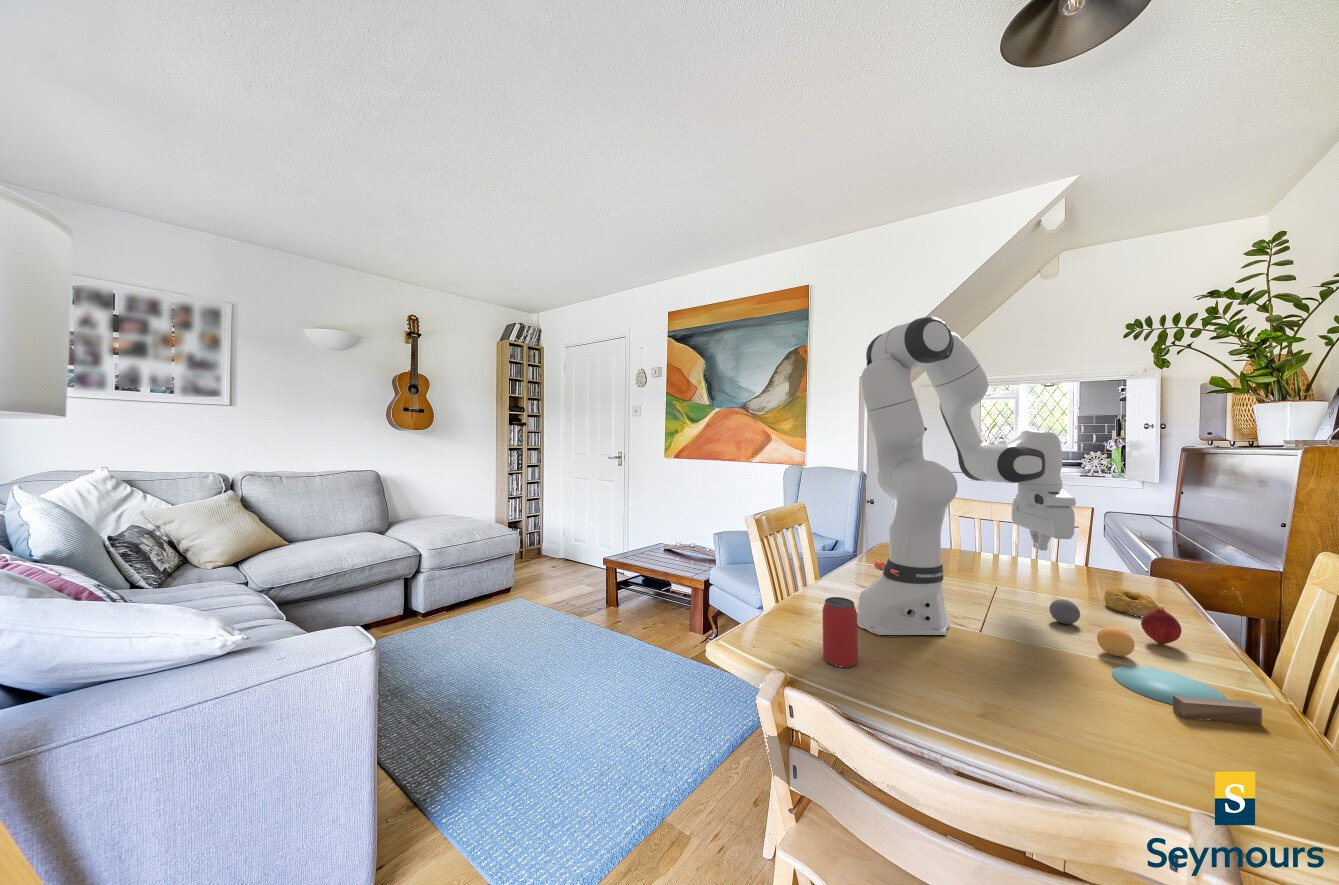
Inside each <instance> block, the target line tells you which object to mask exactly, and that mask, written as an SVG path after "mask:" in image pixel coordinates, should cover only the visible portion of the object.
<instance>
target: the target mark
mask: <svg viewBox="0 0 1339 885" xmlns="http://www.w3.org/2000/svg"><path fill="white" fill-rule="evenodd" d="M1111 675H1112V677H1113V678H1114V680H1115V681H1116V682H1117V683H1119V684H1120V685H1121V686H1123V687H1125V688H1126V689H1128V690H1131V691H1132V692H1134V693H1137V694H1140V695H1141V696H1144V697H1147V698H1150V699H1152V700H1155V701H1158V702H1161V703H1165V704H1169V705H1172V706H1173V696H1186V697H1200V698H1214V699H1228V698H1227V697H1226V696H1225V695H1224V694H1223V693H1222V692H1220V691H1218V690H1217V689H1215V688H1213V687H1211V686H1209V685H1207V684H1205V683H1203V682H1201V681H1199V680H1195V679H1193V678H1190V677H1187V676H1184V675H1181V674H1178V673H1174V672H1171V671H1167V670H1162V669H1157V668H1152V667H1147V666H1146V667H1145V666H1138V665H1137V666H1134V665H1124V666H1118V667H1115V668H1114V669H1113V670H1112V671H1111Z"/></svg>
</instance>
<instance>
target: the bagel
mask: <svg viewBox="0 0 1339 885" xmlns="http://www.w3.org/2000/svg"><path fill="white" fill-rule="evenodd" d="M1103 598H1104V601H1105V605H1106V606H1107V607H1108V608H1109V609H1110V610H1112V611H1115V610H1116V611H1115V612H1118V611H1119V612H1118V613H1122V612H1124V613H1123V614H1126V613H1127V615H1130V614H1132V615H1131V616H1134V615H1136V616H1135V617H1137V616H1143V617H1144V616H1145V615H1146V614H1147V613H1149V612H1151V611H1154V610H1156V609H1157V607H1158V606H1159V605H1158V604H1157V603H1156V602H1155V600H1154V599H1153V597H1150V595H1147V594H1144V593H1142V592H1137V591H1132V590H1128V589H1124V588H1120V587H1110V588H1108V589H1107V590H1106V591H1105V592H1104V596H1103ZM1143 617H1142V618H1143Z"/></svg>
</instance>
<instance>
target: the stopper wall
mask: <svg viewBox="0 0 1339 885" xmlns="http://www.w3.org/2000/svg"><path fill="white" fill-rule="evenodd" d="M1262 709H1263V708H1262V707H1260V706H1258V704H1255V703H1253V702H1251V701H1249V700H1244V699H1243V700H1240V699H1229V698H1227V699H1214V698H1200V697H1186V696H1173V705H1172V711H1173V713H1175V714H1177V715H1179V716H1180V717H1182V718H1183V719H1184V720H1185V719H1187V720H1198V719H1210V720H1209V721H1211V720H1219V721H1218V722H1224V721H1225V722H1227V723H1238V724H1239V723H1240V724H1251V725H1252V724H1253V725H1263V721H1262V720H1263V718H1262V717H1263V710H1262ZM1225 722H1224V723H1225Z"/></svg>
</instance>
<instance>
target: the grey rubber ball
mask: <svg viewBox="0 0 1339 885" xmlns="http://www.w3.org/2000/svg"><path fill="white" fill-rule="evenodd" d="M1049 605H1050V606H1049V614H1050V615H1051V617H1052V618H1053V619H1054V620H1055V621H1056V622H1058V623H1061V624H1064V625H1073V624H1074V623H1077V622H1078V621H1079V620H1080V617H1081V611H1080V608H1079V607H1078V606H1077V605H1076V604H1075V603H1074V602H1072V601H1070V600H1068V599H1065V598H1064V599H1063V598H1062V599H1061V598H1059V599H1055V600H1053V601H1052V602H1051V603H1050V604H1049Z"/></svg>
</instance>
